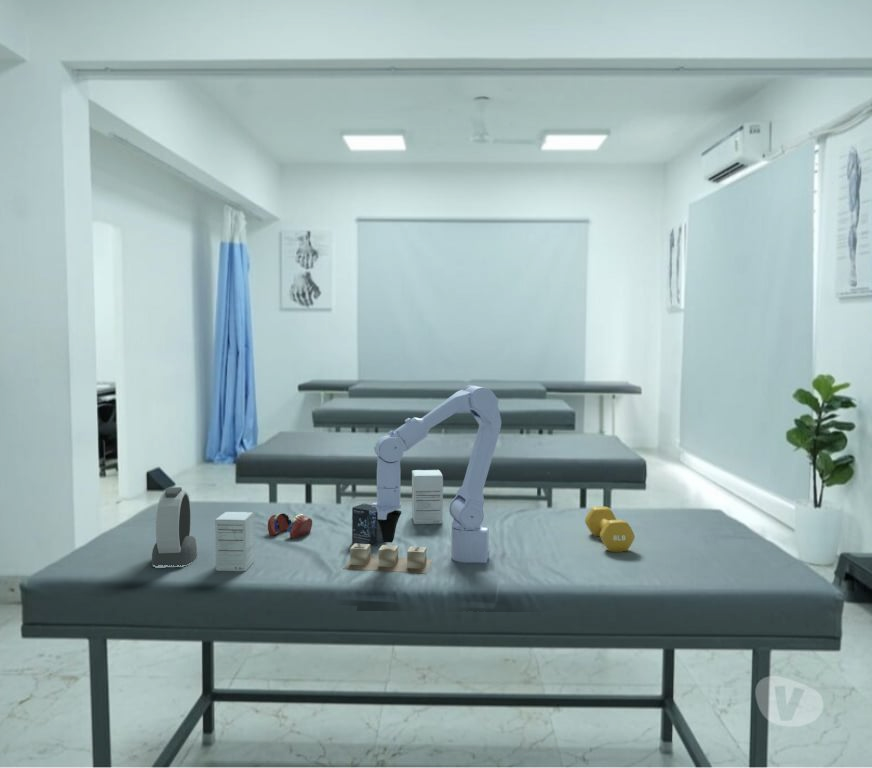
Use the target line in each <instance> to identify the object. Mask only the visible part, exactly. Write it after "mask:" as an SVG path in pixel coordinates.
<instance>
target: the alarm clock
mask: <svg viewBox="0 0 872 768" xmlns="http://www.w3.org/2000/svg"><path fill="white" fill-rule="evenodd" d="M191 507H192V506H191V501H190V494H189V493H188V491H186V490H183V489H182V487H181V486H180V487H179V486H177V487H176V486H175V487H174V486H173V487H172V486H171V487H167V488H166V489H165V491H163V492H162V493H161V495H160V497H159V500H158V505H157V511H156V522H155V539H156V543H155V544H154V546H153V548H152V553H151V565H152V564H153V565H155V566H158V565H163V566H164V565H168V566H169V565H170V566H171V565H172V566H173V565H174V566H177V565H179V566H180V565H181V566H182V565H187V564H189V563H191V562H193V561H194V560H195V559H196V560H197V558H196V557H198V549H197V541H196V540H197V539H196V538H195V536H193V535H191V529H192V528H191V525H192V509H191ZM196 560H195V561H196ZM195 561H194V562H195ZM194 562H193V563H194Z"/></svg>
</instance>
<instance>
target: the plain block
mask: <svg viewBox="0 0 872 768" xmlns="http://www.w3.org/2000/svg"><path fill="white" fill-rule="evenodd" d="M378 557H379V566H384V567H395V566H396V565H397V563H398V558H399V545H394V544H393V545H392V544H391V545H389V544H381V546H379V549H378Z"/></svg>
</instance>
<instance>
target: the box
mask: <svg viewBox="0 0 872 768" xmlns="http://www.w3.org/2000/svg"><path fill="white" fill-rule="evenodd" d="M351 510H352V512H351V513H352V514H351V517H352V519H351V529H352V531H351V538H352V539H351V542H352V543H353V544H370V547H374V548H375V547H378V546H380V545H381V546H382V545H384V544H385V543H386V542H384V541H383V537H382V532H381V528H380V525H379V523H378V521H377V519H376V516H375V514H376V513H377V512H378V511H377V509H376V507H372V504H368V503H362V504H359V505H355V506H353V507H352V508H351Z"/></svg>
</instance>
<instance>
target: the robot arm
mask: <svg viewBox="0 0 872 768" xmlns="http://www.w3.org/2000/svg"><path fill="white" fill-rule="evenodd" d="M456 413H470V414H472V416H473V418H474V419H475V420H476V422H477V424H478V429H477V433H476V436H475V440H474V443H473V447H472V450H471V453H470V458H469V461H468V465H467V468H466V472H465V475H464V479H463V482H462V485H461V486H460V488H459V489H457V491H456V492H457V493H456V495H455V496H454V498H453V499H452V500H451V501H450V503H449V506H448V508H449V509H448V510H449V515H450V516H451V517H452V518H453V521H452V523H451V556H450V557H451V559H452V560H453V561H455V562H457V563H479V564H480V563H481V564H483V563H484V564H487V563H488V560H489V558H490V550H489V547H490V540H489V539H490V532H489V531H490V530H489V527H485V526H481V525H482V523H483V521H484V518H485V515H484V505H485V498H484V488H485V484H486V480H487V478H488V474H489V471H490V467H491V463H492V460H493V457H494V452H495V450H496V449H495V448H496V446H497V442H498V440H499V439H498V438H499V436H500V431H501V428H502V417H501V414H500V410H499V399H498V398H497V396H496V395H495V393H494V392H493V390H491V389H490V388H489V387H487V386H486V387H484V386H478V385H475V384H469V385H466V386H465V387H464V388H463V389H460V390H458V391H456V392H455V393H453V394H452V395H450V396H449V397H448V398H447V399H445V400H444V401H443V402H441V403H440V404H439V405H437V406H436V407H435V408H433V409H432V410H430V411H429V412H428V413H426V414H425V415H424V416H422V417H421V418H420V417H415V416H413V418H409V417H407V418H406V419H405V420H404V422H405V423H404V424H401V426H399V427H398V428H396V429H395V430H392V429H391V430H390V431H388V434H389V435H383V436H380V437H379V438H378V439H377V441H376V443H375V446H374V452H375V455H377V459H376V460H377V461H376V463H377V466H376V502H372V503H371V505H372V507H376V509H377V511H378V512H377V513H376V514H375V516H376V519H377V521H378V523H379V525H380V528H381V532H382V537H383V541H384V542H385V543H391V544H392V543H393V542H394V539H395V535H396V529H397V524H398V522H399V519H400V517H401V515H402V511H401V510H400V509H401V508H402V503H401V459H402V457H403V455H404V453H405V452H407V451H409V450H410V449H411V448H413V447H415V446H416V445H417V444H419V443H420V442H422V441H424V440H425V439H426V438H427V437H428V435H429V431H430V429H433V428H434V427H436V426H437V425H438V424H440V423H441V422H443V421H445V420H447V419H448V418H449V417H451V416H453V415H454V414H456Z"/></svg>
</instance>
